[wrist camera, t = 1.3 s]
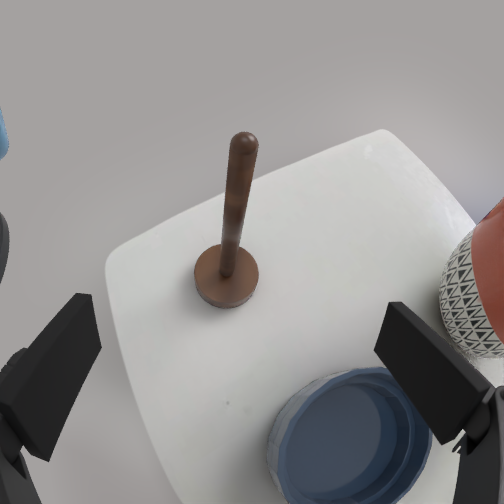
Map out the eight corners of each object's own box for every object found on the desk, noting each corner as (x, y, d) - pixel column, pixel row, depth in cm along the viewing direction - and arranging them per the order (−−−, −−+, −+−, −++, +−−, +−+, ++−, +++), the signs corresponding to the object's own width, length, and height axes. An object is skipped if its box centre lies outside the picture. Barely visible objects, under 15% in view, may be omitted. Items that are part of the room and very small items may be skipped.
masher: (191, 304, 31) (167, 174, 13) (199, 248, 34) (194, 97, 16) (254, 310, 31) (314, 191, 13) (257, 254, 35) (303, 110, 17)
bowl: (261, 513, 20) (272, 536, 15) (269, 373, 28) (282, 369, 23) (396, 490, 22) (424, 499, 17) (402, 368, 30) (432, 360, 25)
